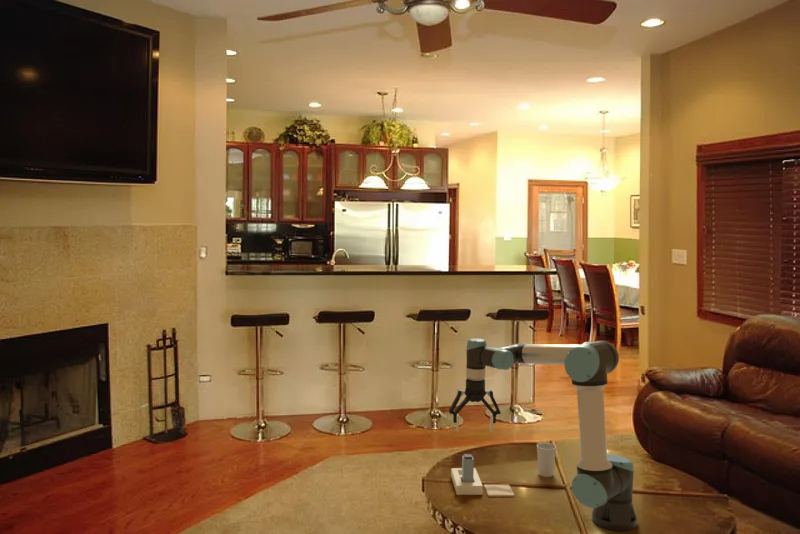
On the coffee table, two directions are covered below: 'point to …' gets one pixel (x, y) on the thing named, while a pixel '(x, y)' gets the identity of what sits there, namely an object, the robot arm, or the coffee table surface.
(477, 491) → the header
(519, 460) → the coffee table surface
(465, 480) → the plug
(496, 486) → the pad
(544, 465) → the cup
